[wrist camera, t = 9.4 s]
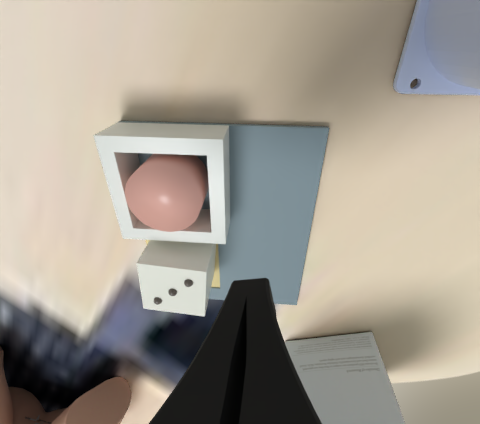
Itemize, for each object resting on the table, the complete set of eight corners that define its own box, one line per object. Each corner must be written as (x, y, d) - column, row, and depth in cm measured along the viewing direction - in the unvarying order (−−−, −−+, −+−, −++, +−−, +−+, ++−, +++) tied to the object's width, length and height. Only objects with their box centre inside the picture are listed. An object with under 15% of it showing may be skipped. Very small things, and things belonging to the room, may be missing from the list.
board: (327, 126, 16) (329, 128, 16) (296, 301, 25) (296, 304, 25) (120, 120, 17) (117, 122, 17) (159, 292, 26) (157, 295, 25)
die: (217, 230, 21) (205, 275, 17) (214, 271, 23) (204, 319, 19) (159, 223, 21) (134, 266, 17) (163, 265, 23) (141, 311, 19)
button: (207, 148, 17) (197, 167, 14) (211, 208, 19) (203, 233, 17) (138, 145, 17) (116, 163, 14) (150, 205, 19) (133, 229, 17)
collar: (229, 125, 16) (222, 139, 14) (230, 220, 20) (225, 244, 18) (117, 122, 17) (93, 135, 14) (139, 215, 20) (122, 238, 18)
